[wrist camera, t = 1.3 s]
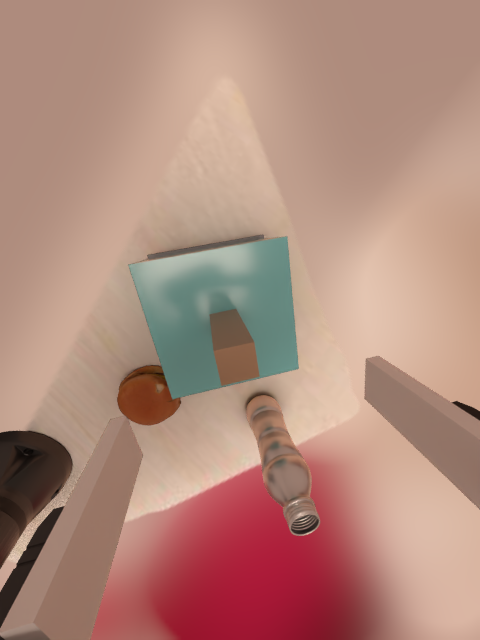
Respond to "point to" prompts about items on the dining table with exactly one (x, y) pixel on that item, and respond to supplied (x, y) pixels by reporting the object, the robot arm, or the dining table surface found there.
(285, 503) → the plastic bottle
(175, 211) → the dining table surface
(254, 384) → the dining table surface
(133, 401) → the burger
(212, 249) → the teal base with peg
